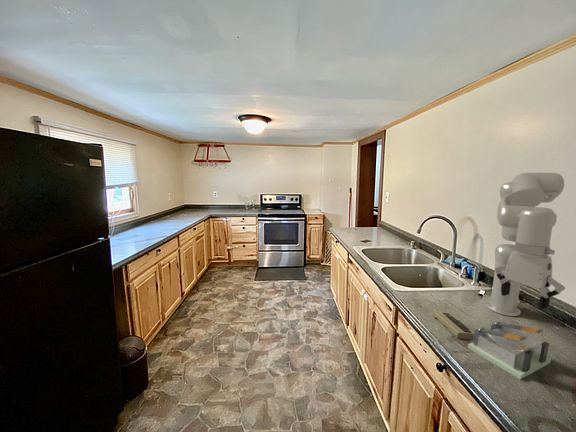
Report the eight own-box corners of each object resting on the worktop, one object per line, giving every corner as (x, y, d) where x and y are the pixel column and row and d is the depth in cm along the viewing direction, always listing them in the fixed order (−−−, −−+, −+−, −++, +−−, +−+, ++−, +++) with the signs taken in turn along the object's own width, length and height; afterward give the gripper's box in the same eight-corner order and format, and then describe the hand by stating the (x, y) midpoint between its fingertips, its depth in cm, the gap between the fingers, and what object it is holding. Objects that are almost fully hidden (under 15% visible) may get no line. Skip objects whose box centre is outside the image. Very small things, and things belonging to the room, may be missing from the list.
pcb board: (496, 335, 102) (497, 332, 101) (550, 363, 87) (551, 359, 87) (467, 347, 95) (468, 344, 94) (520, 379, 80) (520, 375, 80)
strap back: (498, 324, 99) (497, 321, 99) (543, 332, 86) (542, 328, 86) (494, 326, 98) (493, 323, 98) (539, 334, 85) (538, 330, 85)
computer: (477, 339, 100) (478, 331, 100) (456, 339, 100) (457, 332, 99) (450, 317, 116) (451, 310, 115) (432, 317, 115) (433, 310, 115)
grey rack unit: (497, 334, 100) (500, 318, 99) (549, 359, 87) (552, 342, 86) (471, 344, 94) (473, 328, 93) (522, 374, 80) (525, 355, 79)
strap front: (482, 330, 95) (481, 327, 95) (526, 339, 82) (525, 336, 82) (477, 332, 94) (477, 329, 94) (522, 341, 81) (521, 338, 82)
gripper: (576, 256, 73) (565, 312, 75) (505, 241, 89) (499, 288, 91) (563, 259, 70) (552, 317, 72) (492, 243, 86) (485, 292, 88)
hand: (522, 301), depth 82 cm, fingers open, 9 cm apart
